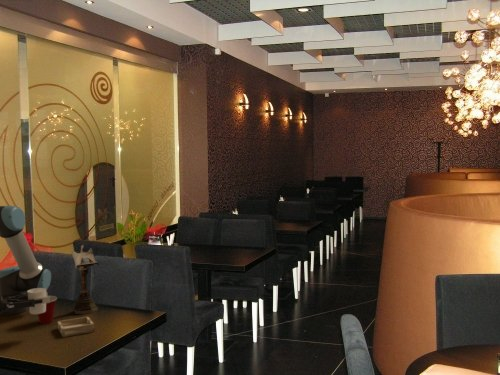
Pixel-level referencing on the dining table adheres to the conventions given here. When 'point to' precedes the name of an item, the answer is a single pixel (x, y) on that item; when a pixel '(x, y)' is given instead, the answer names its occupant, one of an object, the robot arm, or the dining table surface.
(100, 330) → the dining table surface
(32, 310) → the white cup
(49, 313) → the plastic cup
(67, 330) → the birch crate
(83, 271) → the bird statue
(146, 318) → the dining table surface
